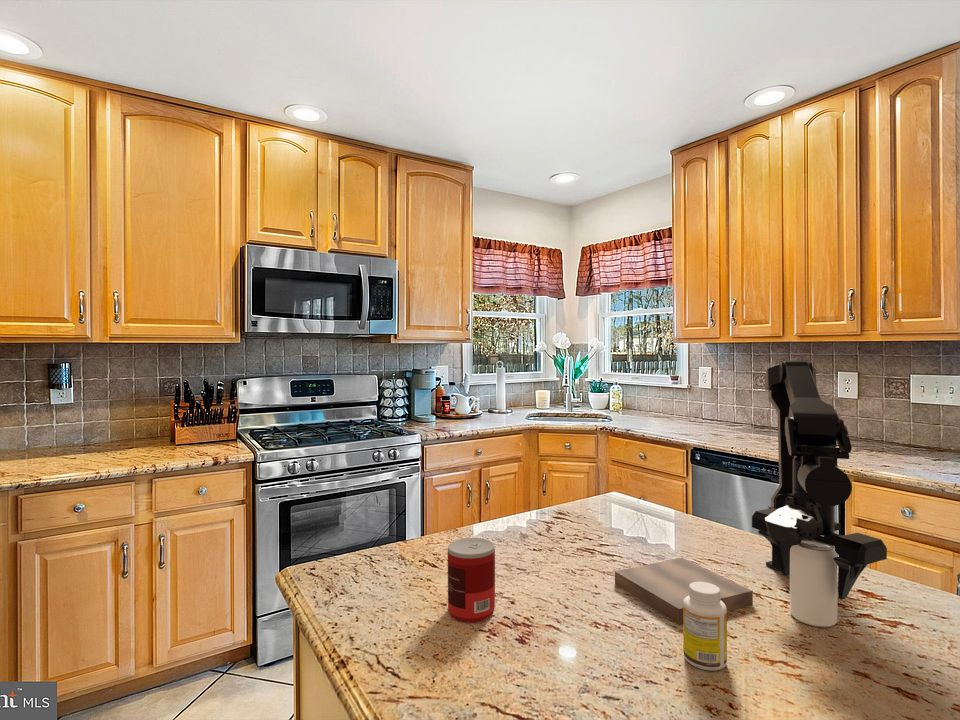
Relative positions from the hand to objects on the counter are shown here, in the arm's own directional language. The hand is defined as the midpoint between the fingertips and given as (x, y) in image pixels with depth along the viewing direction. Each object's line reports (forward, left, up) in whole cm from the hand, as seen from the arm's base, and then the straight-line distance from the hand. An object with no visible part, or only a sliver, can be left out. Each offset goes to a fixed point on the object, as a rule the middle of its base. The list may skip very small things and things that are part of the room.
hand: (813, 587), depth 86 cm
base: (+13, -15, -5) cm, 20 cm away
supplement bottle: (+25, +2, -5) cm, 26 cm away
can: (0, 0, -5) cm, 5 cm away
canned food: (+49, -24, -5) cm, 55 cm away
